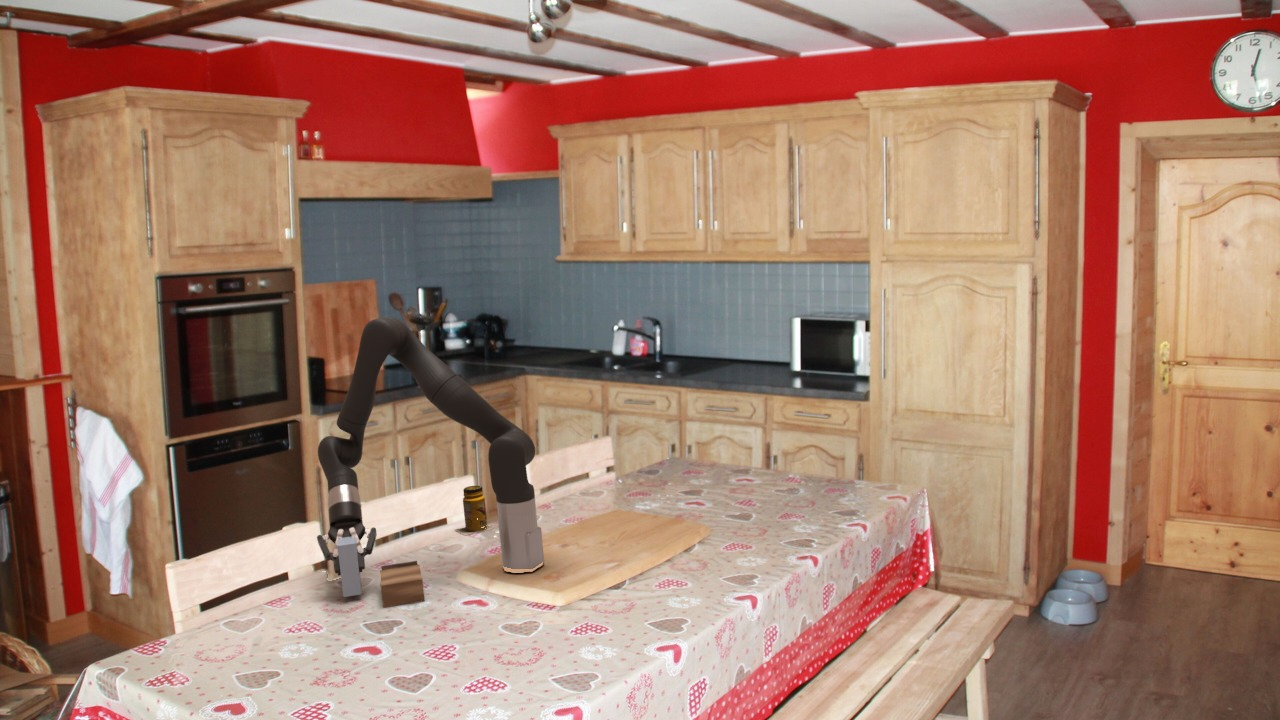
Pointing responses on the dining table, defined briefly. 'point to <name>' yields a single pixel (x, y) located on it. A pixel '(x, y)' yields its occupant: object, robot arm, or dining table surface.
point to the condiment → (474, 511)
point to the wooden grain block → (401, 584)
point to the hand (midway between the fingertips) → (350, 571)
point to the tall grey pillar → (349, 566)
